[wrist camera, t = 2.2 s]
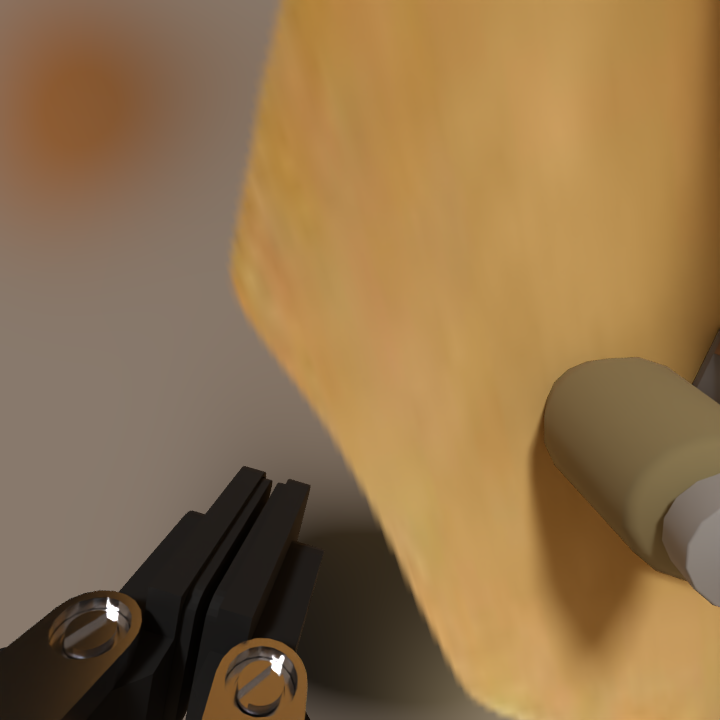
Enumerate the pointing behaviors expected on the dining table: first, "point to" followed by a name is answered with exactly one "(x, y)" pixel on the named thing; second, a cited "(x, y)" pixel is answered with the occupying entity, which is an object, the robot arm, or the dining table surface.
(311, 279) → the dining table surface
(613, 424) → the squeeze bottle
